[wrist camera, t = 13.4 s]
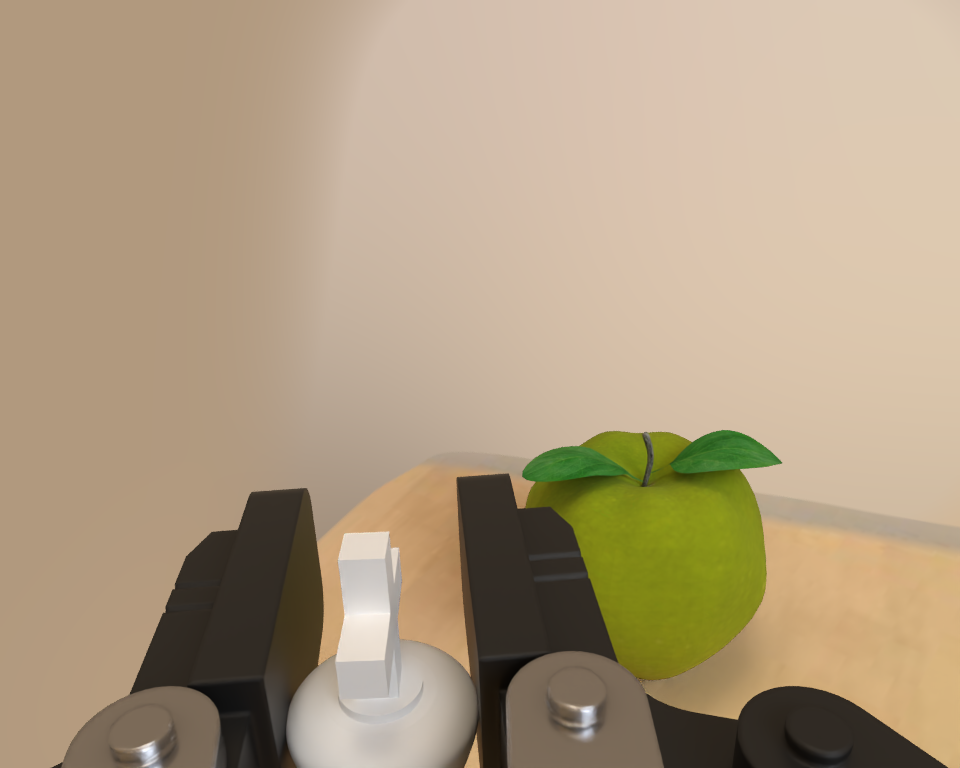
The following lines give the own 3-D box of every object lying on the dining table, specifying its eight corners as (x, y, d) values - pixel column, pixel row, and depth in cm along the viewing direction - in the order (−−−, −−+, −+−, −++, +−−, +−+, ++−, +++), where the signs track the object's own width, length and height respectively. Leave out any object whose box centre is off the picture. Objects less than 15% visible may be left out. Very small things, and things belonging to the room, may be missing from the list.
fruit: (777, 739, 29) (814, 503, 25) (518, 724, 30) (513, 495, 26) (732, 578, 38) (754, 381, 33) (530, 571, 39) (528, 379, 34)
